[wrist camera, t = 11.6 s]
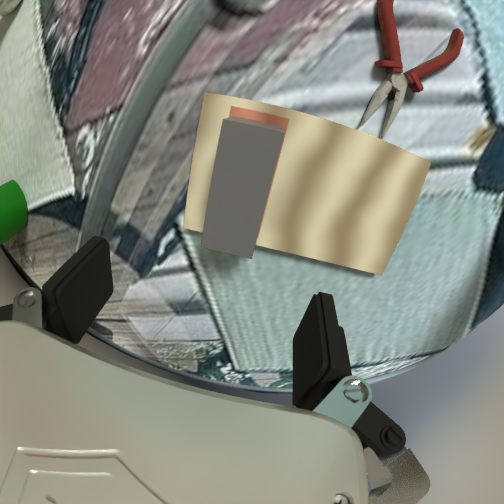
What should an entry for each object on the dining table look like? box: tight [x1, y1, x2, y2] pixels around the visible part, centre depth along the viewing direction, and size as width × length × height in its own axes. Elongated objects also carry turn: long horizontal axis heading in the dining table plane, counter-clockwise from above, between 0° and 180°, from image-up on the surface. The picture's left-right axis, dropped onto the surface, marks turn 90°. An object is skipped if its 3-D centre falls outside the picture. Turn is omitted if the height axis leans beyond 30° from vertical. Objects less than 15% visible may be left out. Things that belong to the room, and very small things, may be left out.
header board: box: [183, 93, 431, 275], centre depth 28 cm, size 26×16×5 cm, turn 77°
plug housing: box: [201, 116, 285, 259], centre depth 26 cm, size 12×5×6 cm, turn 167°
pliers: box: [360, 0, 464, 139], centre depth 20 cm, size 12×20×3 cm, turn 157°
